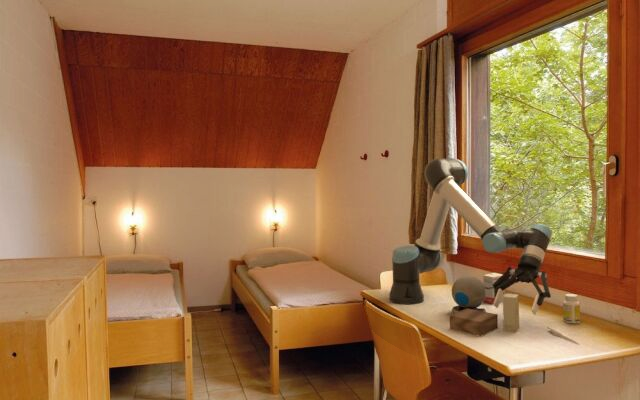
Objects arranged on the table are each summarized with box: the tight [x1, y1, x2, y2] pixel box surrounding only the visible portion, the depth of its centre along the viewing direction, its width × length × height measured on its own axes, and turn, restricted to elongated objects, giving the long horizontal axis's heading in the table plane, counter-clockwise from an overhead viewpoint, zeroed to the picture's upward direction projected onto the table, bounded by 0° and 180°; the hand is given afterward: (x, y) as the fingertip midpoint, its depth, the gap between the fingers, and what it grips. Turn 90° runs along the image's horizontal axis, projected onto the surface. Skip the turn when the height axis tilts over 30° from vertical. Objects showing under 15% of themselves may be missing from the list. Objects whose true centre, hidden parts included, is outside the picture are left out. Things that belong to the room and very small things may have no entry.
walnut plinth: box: [449, 308, 499, 337], centre depth 170 cm, size 12×12×5 cm
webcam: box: [451, 275, 487, 315], centre depth 189 cm, size 13×13×15 cm
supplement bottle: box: [562, 293, 581, 324], centre depth 175 cm, size 5×5×10 cm
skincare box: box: [502, 292, 520, 333], centre depth 168 cm, size 6×4×12 cm
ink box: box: [483, 272, 506, 305], centre depth 206 cm, size 8×5×12 cm, turn 123°
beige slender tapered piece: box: [547, 325, 580, 345], centre depth 159 cm, size 15×3×2 cm, turn 12°
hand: (513, 308), depth 168 cm, fingers open, 13 cm apart
